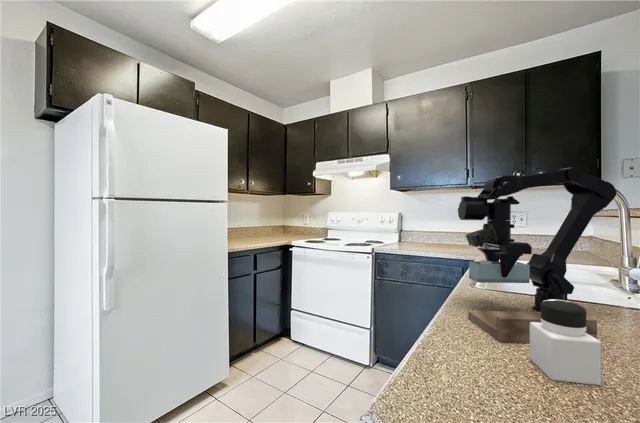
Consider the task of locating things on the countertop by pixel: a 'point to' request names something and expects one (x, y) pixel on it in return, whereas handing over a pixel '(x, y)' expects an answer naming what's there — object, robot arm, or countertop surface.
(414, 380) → the countertop surface
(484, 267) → the tray
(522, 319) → the walnut shelf
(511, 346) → the countertop surface
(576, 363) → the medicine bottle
